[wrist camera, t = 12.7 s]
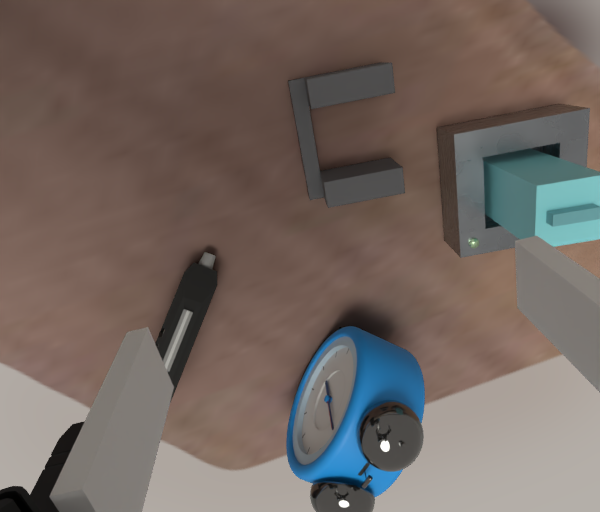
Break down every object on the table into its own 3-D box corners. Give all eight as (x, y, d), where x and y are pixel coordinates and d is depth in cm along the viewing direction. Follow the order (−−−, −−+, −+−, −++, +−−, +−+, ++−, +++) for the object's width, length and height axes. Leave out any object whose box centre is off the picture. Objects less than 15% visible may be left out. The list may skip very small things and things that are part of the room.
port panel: (436, 127, 38) (454, 135, 34) (559, 103, 38) (591, 108, 34) (444, 240, 42) (461, 258, 38) (555, 219, 42) (584, 235, 38)
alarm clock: (348, 297, 44) (382, 406, 30) (403, 324, 45) (460, 439, 31) (282, 399, 48) (286, 536, 34) (334, 420, 49) (358, 560, 35)
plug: (474, 156, 39) (543, 188, 29) (527, 147, 39) (614, 177, 29) (475, 206, 40) (540, 254, 30) (526, 198, 40) (608, 243, 30)
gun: (219, 263, 48) (228, 258, 38) (157, 417, 46) (150, 454, 36) (192, 252, 47) (195, 245, 38) (128, 408, 45) (114, 444, 35)
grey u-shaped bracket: (288, 80, 36) (289, 82, 33) (380, 62, 36) (391, 62, 32) (309, 196, 40) (312, 210, 36) (392, 180, 40) (404, 193, 36)
